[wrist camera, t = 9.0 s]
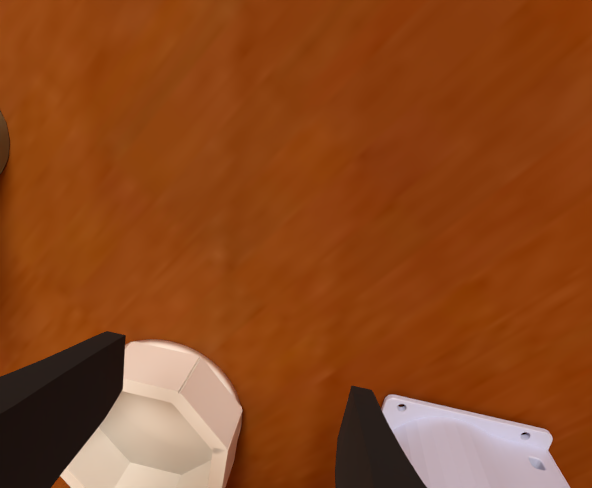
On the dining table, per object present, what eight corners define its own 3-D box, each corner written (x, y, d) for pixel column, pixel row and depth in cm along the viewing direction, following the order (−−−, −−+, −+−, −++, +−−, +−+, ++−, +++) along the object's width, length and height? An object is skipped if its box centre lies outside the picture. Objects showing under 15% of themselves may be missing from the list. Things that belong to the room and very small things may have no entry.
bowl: (252, 359, 25) (235, 404, 21) (231, 485, 28) (213, 544, 24) (93, 323, 25) (48, 360, 21) (90, 450, 28) (50, 502, 25)
